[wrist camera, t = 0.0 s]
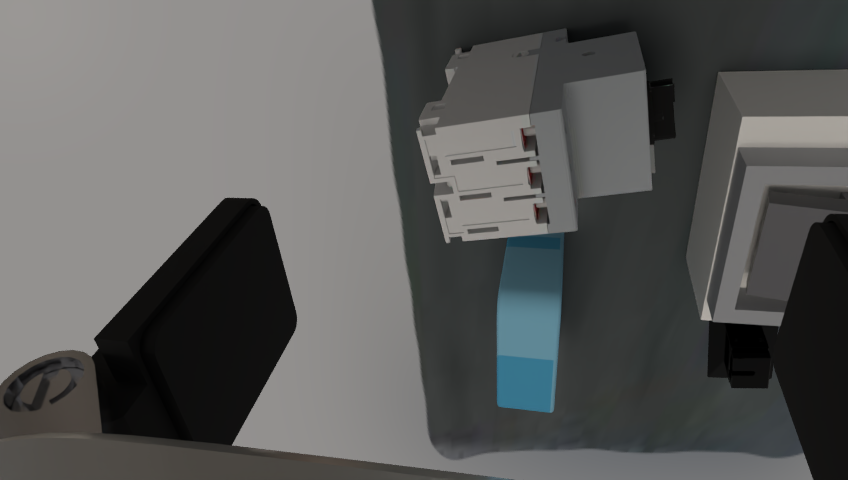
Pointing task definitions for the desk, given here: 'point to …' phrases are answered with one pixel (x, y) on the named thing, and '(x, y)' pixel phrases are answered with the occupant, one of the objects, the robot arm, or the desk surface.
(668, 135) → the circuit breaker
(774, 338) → the black slotted block
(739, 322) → the switch panel
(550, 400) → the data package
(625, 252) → the desk surface
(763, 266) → the rocker
